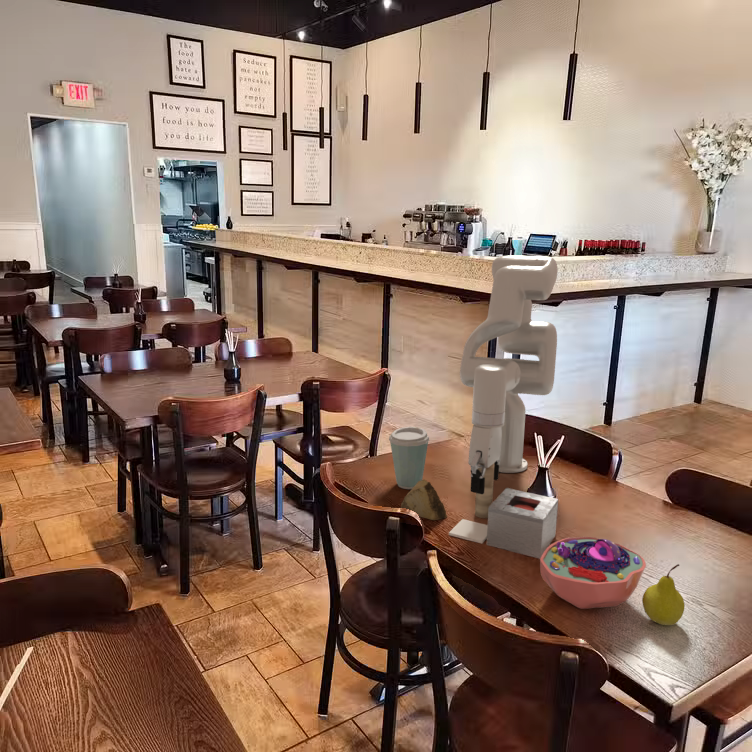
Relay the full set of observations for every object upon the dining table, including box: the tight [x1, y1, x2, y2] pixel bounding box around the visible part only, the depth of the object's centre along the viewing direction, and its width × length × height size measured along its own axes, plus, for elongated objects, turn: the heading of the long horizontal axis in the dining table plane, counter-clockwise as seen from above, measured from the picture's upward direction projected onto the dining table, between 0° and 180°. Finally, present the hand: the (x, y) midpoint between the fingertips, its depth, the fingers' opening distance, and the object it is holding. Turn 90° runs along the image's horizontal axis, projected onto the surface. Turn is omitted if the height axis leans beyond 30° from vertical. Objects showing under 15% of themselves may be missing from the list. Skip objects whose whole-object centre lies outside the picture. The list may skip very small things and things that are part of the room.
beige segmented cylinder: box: [474, 463, 495, 519], centre depth 158 cm, size 4×4×16 cm
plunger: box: [513, 505, 534, 511], centre depth 146 cm, size 5×5×3 cm
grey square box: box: [486, 487, 559, 560], centre depth 146 cm, size 12×12×9 cm
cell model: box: [539, 536, 647, 610], centre depth 124 cm, size 17×20×11 cm
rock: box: [400, 479, 448, 521], centre depth 160 cm, size 11×9×10 cm
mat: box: [448, 518, 488, 545], centre depth 151 cm, size 8×8×1 cm
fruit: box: [641, 563, 685, 626], centre depth 117 cm, size 7×7×12 cm
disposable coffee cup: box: [388, 426, 430, 490], centre depth 175 cm, size 11×11×15 cm
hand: (484, 485), depth 158 cm, fingers open, 9 cm apart
